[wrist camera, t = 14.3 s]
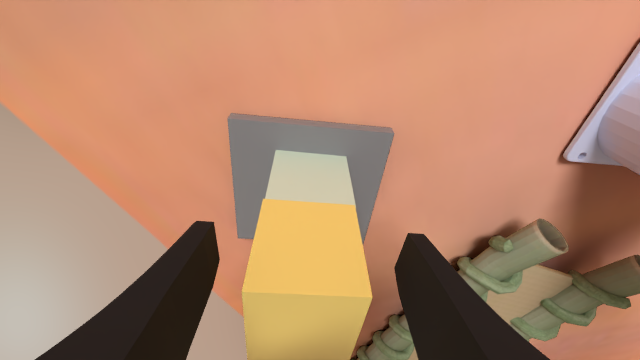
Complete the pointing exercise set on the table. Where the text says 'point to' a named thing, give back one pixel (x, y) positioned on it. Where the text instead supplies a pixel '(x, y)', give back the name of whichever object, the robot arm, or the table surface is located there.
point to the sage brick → (310, 178)
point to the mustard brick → (305, 282)
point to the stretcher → (525, 290)
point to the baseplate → (309, 137)
